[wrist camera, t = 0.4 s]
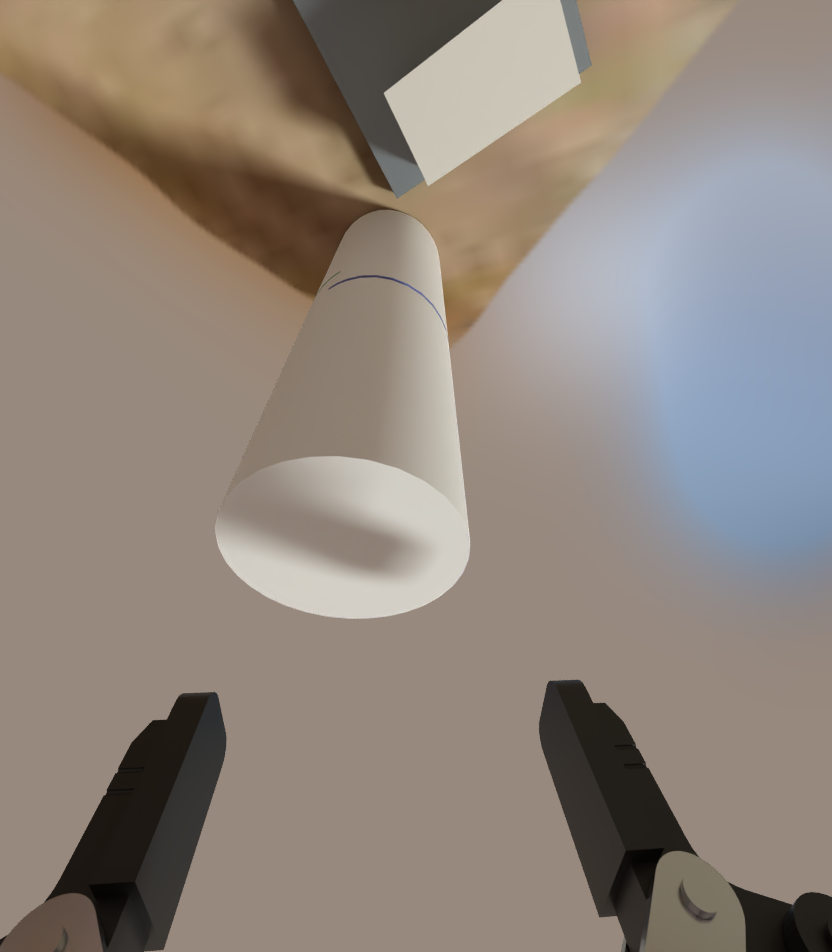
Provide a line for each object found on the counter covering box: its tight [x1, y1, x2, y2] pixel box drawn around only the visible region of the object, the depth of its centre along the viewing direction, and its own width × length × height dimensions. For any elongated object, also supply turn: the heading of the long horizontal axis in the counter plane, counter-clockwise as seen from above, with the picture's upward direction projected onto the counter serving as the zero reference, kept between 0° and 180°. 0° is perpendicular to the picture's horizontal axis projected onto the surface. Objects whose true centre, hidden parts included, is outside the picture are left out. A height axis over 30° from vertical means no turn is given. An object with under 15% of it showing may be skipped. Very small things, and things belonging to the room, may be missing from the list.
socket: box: [384, 0, 581, 186], centre depth 22 cm, size 4×8×6 cm, turn 120°
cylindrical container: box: [215, 210, 470, 619], centre depth 22 cm, size 7×7×25 cm
